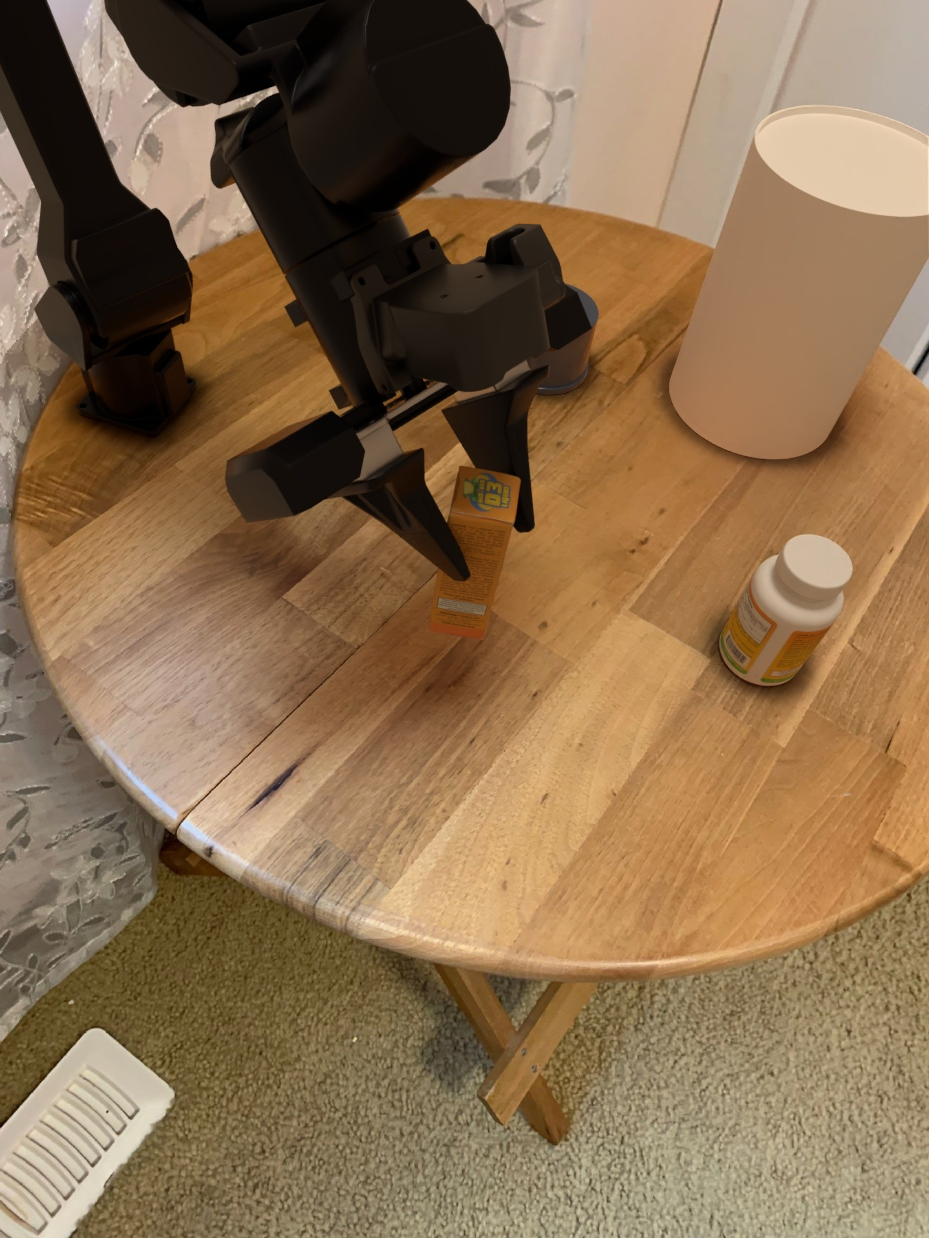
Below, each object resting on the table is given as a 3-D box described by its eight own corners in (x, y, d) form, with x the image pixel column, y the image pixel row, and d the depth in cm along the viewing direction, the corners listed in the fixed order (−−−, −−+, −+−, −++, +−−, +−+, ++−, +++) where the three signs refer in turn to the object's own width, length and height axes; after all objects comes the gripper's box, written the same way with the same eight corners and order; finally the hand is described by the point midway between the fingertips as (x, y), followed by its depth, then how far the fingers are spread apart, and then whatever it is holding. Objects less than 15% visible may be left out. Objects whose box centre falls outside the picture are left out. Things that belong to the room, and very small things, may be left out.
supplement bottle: (806, 639, 59) (873, 545, 51) (788, 701, 56) (857, 612, 48) (728, 607, 60) (783, 511, 52) (707, 667, 57) (761, 574, 49)
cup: (574, 405, 71) (588, 348, 66) (486, 379, 72) (494, 321, 67) (599, 343, 76) (614, 286, 71) (517, 320, 76) (526, 262, 72)
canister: (669, 336, 77) (749, 92, 61) (824, 361, 77) (946, 123, 60) (668, 443, 69) (760, 196, 53) (841, 471, 69) (986, 232, 53)
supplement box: (489, 643, 49) (515, 525, 41) (427, 633, 49) (441, 513, 40) (496, 595, 51) (522, 472, 42) (436, 585, 51) (451, 461, 42)
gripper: (235, 273, 28) (456, 680, 33) (606, 103, 36) (734, 447, 42) (137, 350, 37) (322, 659, 42) (452, 200, 45) (573, 471, 51)
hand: (495, 555), depth 44 cm, fingers closed on supplement box, 4 cm apart
